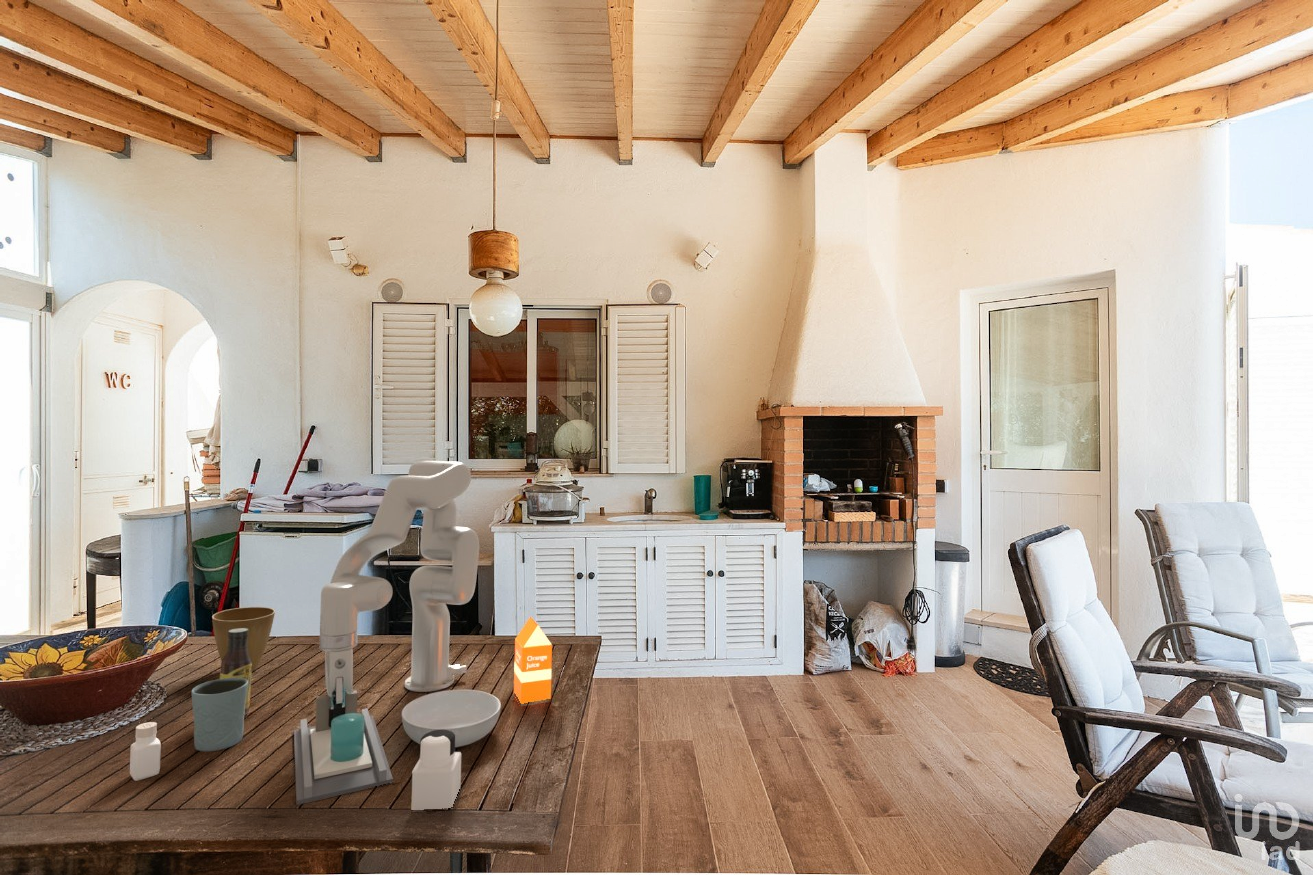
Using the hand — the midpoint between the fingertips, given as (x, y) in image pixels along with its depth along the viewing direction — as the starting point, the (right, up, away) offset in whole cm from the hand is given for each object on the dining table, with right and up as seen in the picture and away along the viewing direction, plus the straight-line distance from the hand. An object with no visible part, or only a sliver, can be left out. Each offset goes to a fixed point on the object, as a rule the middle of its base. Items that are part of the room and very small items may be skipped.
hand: (336, 722), depth 141 cm
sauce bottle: (-28, -2, +9) cm, 30 cm away
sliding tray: (+5, -3, -9) cm, 10 cm away
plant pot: (-46, -3, +38) cm, 59 cm away
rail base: (+6, -3, -10) cm, 12 cm away
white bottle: (+31, -3, -25) cm, 40 cm away
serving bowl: (+26, -4, 0) cm, 26 cm away
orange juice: (+39, -4, +23) cm, 45 cm away
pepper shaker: (-27, -2, -19) cm, 33 cm away
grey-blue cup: (-23, -2, -4) cm, 23 cm away
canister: (+8, -1, -12) cm, 15 cm away
